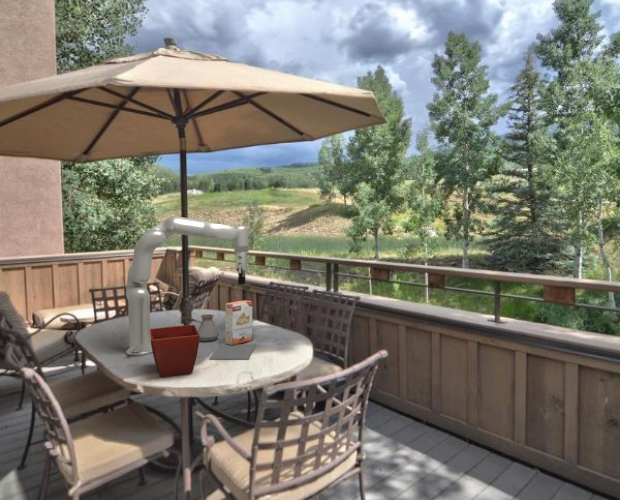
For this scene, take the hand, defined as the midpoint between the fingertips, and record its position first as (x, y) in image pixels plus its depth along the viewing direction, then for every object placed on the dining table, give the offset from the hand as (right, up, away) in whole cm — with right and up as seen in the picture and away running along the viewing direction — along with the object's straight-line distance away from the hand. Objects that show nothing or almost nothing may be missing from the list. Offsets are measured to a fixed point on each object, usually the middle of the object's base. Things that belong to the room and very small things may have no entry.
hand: (241, 283), depth 233 cm
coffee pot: (-21, -30, -5) cm, 37 cm away
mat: (-1, -31, -23) cm, 38 cm away
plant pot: (-21, -33, -47) cm, 61 cm away
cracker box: (0, -30, -8) cm, 31 cm away
